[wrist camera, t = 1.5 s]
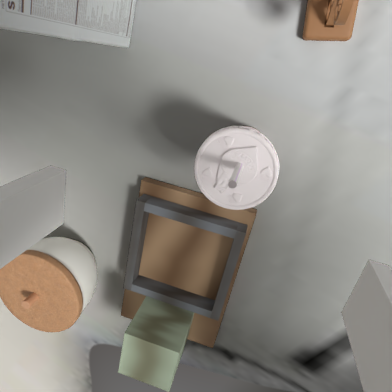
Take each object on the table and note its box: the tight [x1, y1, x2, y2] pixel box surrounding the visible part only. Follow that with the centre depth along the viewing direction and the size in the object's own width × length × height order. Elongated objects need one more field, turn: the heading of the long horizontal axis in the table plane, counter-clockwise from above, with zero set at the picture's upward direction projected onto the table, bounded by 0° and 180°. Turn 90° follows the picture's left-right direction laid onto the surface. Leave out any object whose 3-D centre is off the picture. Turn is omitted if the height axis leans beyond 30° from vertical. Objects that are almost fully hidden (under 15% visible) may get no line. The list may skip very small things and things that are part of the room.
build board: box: [118, 177, 257, 392], centre depth 35 cm, size 13×20×9 cm, turn 168°
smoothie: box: [194, 126, 280, 210], centre depth 26 cm, size 6×6×14 cm
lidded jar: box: [0, 237, 98, 332], centre depth 39 cm, size 11×11×9 cm
